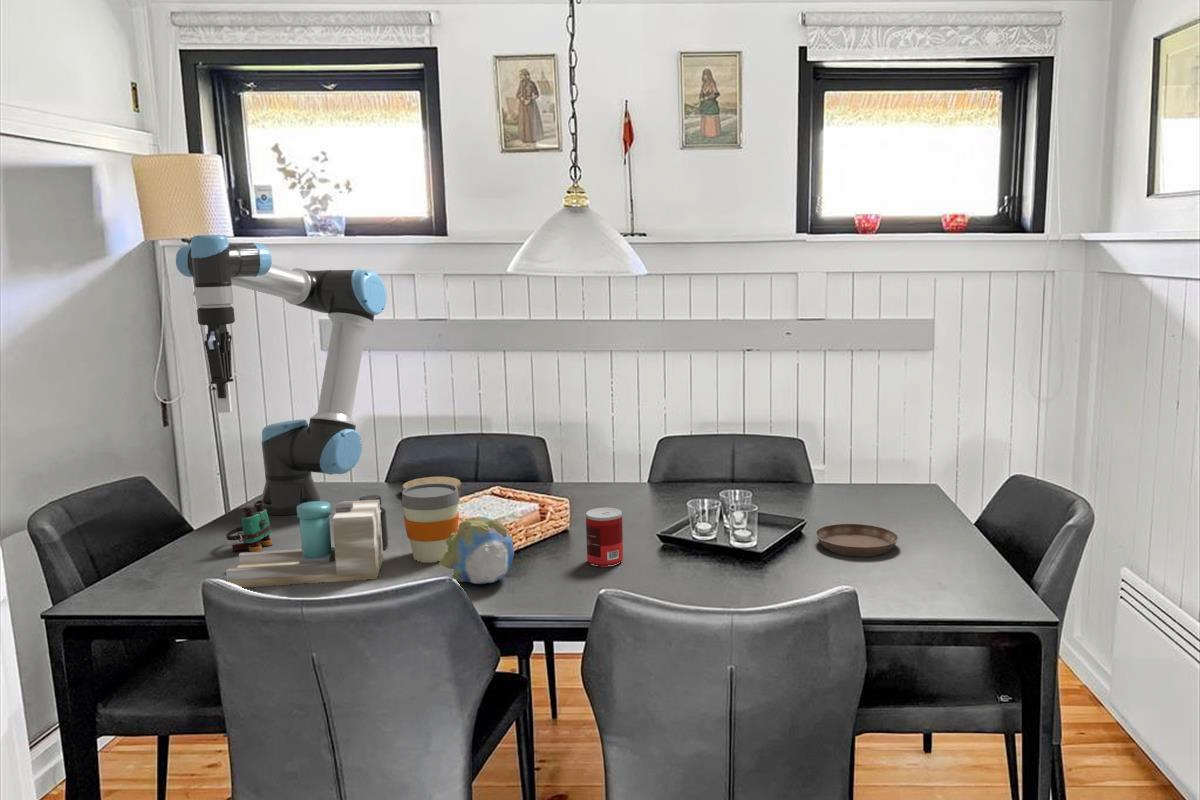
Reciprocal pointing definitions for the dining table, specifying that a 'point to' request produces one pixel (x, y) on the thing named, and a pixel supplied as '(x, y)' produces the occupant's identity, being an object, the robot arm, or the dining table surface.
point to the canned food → (604, 536)
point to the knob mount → (352, 562)
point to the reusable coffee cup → (430, 519)
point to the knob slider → (315, 532)
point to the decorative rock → (479, 551)
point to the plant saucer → (856, 539)
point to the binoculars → (253, 529)
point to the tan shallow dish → (434, 480)
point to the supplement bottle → (383, 519)
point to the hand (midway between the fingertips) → (225, 411)
